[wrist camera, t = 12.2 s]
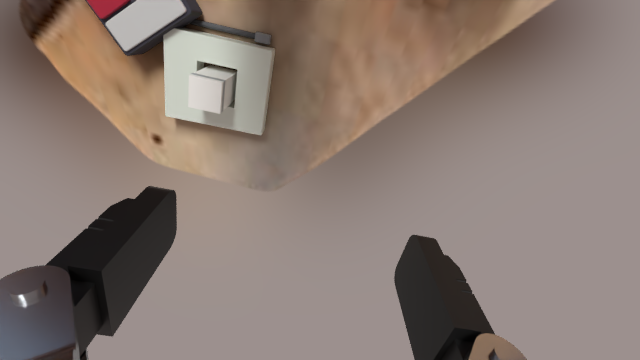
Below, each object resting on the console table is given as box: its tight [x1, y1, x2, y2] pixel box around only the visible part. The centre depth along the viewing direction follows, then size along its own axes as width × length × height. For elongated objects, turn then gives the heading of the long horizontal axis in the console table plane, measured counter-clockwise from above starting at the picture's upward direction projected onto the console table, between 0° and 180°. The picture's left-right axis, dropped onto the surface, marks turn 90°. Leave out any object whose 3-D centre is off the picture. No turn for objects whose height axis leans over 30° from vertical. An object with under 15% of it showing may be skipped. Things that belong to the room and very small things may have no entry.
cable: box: [189, 19, 271, 45], centre depth 41 cm, size 1×13×1 cm, turn 78°
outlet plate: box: [163, 27, 275, 135], centre depth 44 cm, size 12×14×3 cm
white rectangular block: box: [188, 65, 237, 114], centre depth 42 cm, size 4×4×8 cm
